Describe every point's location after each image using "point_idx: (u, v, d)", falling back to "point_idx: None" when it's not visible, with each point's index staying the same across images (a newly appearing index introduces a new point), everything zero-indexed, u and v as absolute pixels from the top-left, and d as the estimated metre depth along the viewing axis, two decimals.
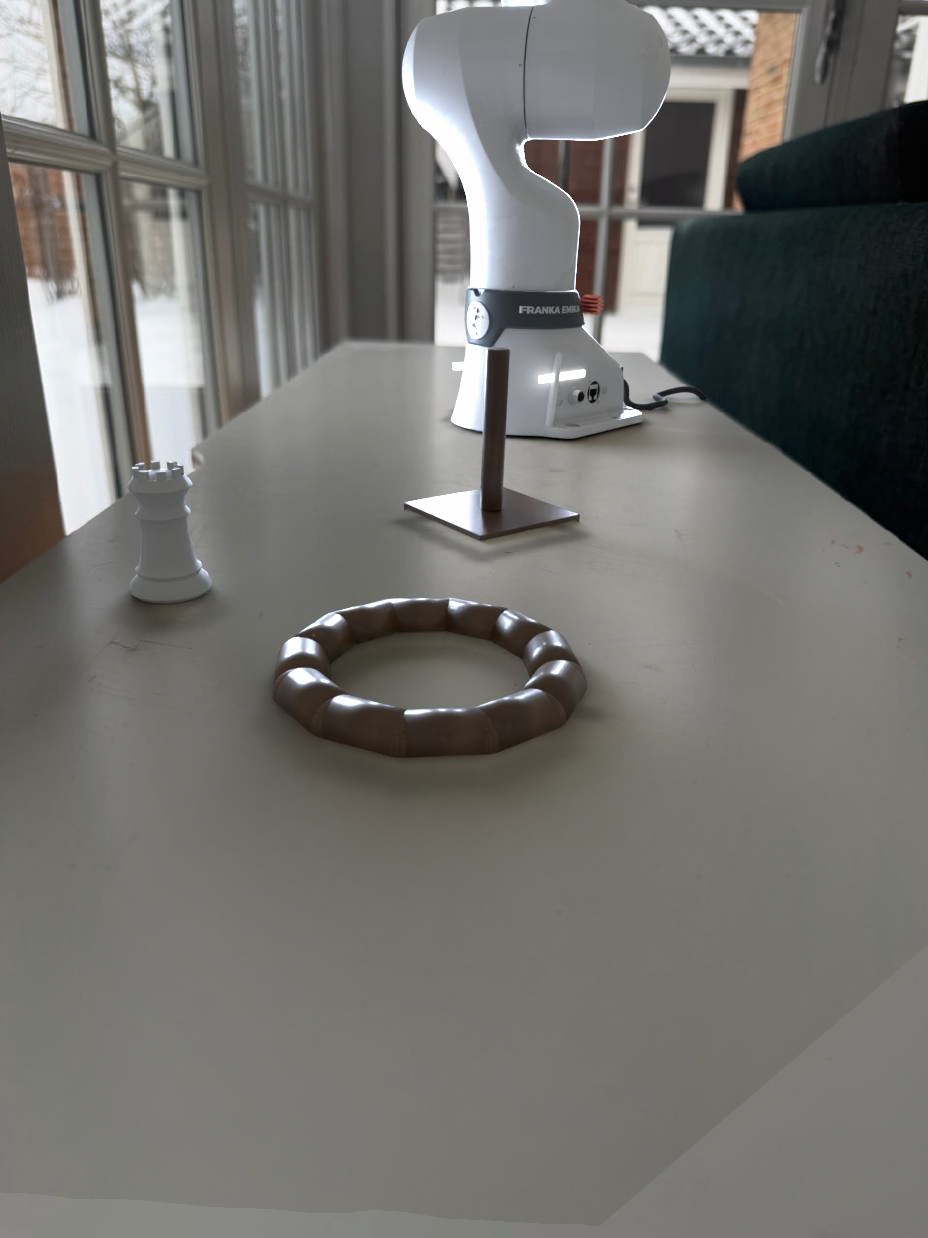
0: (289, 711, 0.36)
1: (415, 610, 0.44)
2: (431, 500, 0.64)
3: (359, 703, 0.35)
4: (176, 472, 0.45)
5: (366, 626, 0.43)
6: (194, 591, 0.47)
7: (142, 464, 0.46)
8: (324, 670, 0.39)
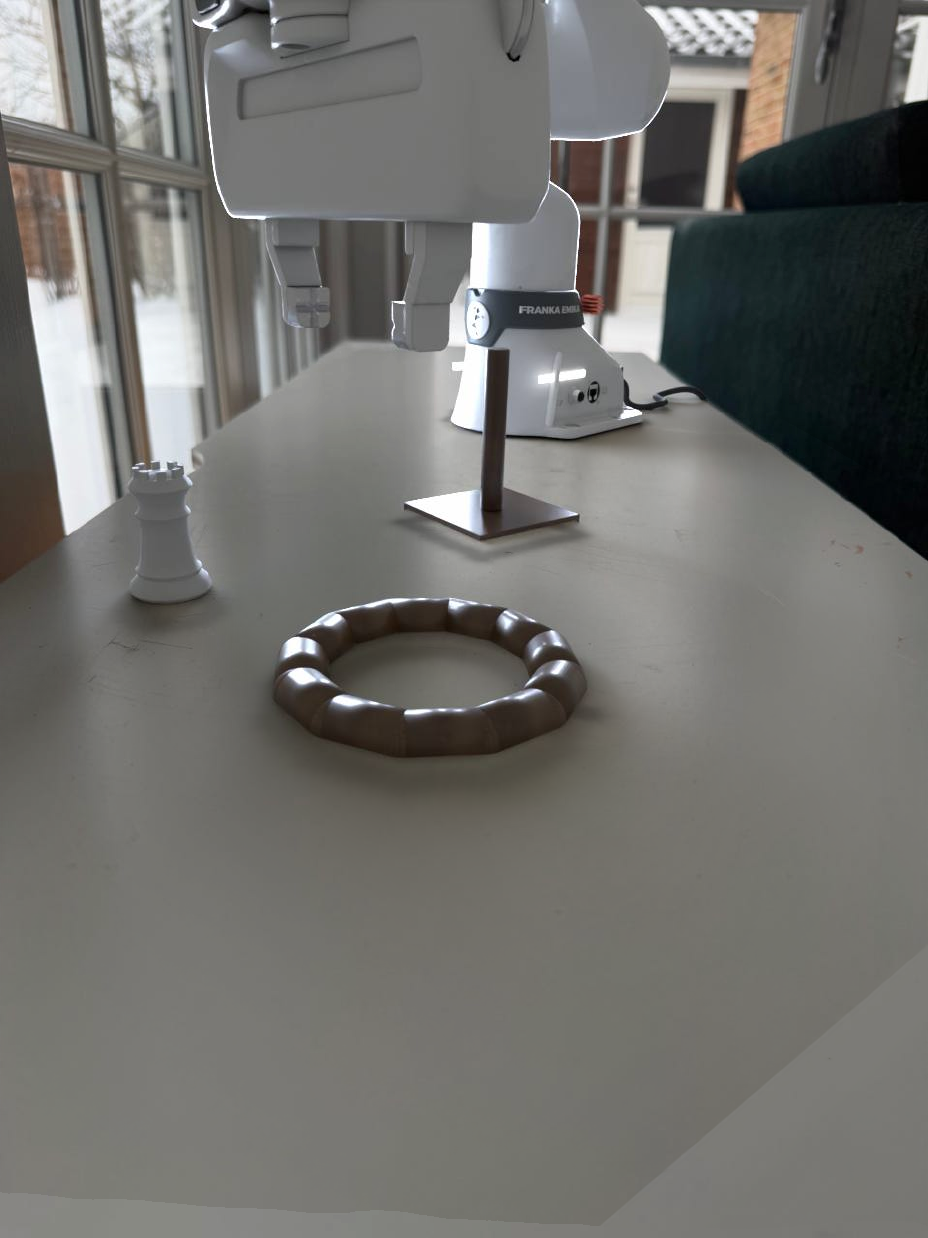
0: (289, 711, 0.36)
1: (415, 610, 0.44)
2: (431, 500, 0.64)
3: (359, 703, 0.35)
4: (176, 472, 0.45)
5: (366, 626, 0.43)
6: (194, 591, 0.47)
7: (142, 464, 0.46)
8: (324, 670, 0.39)
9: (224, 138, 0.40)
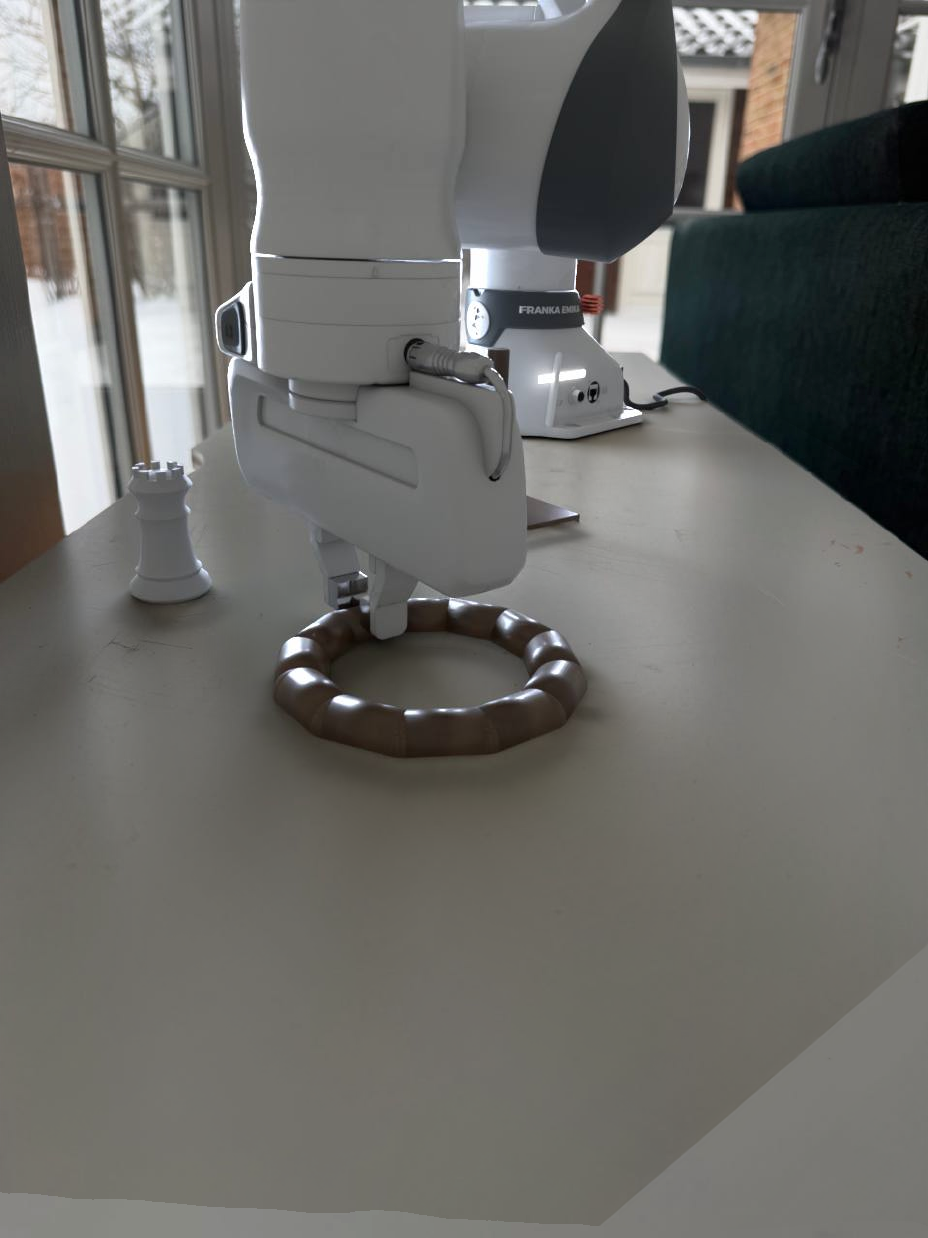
0: (289, 711, 0.36)
1: (415, 610, 0.44)
2: None
3: (359, 703, 0.35)
4: (176, 472, 0.45)
5: None
6: (194, 591, 0.47)
7: (142, 464, 0.46)
8: (324, 670, 0.39)
9: (246, 432, 0.46)
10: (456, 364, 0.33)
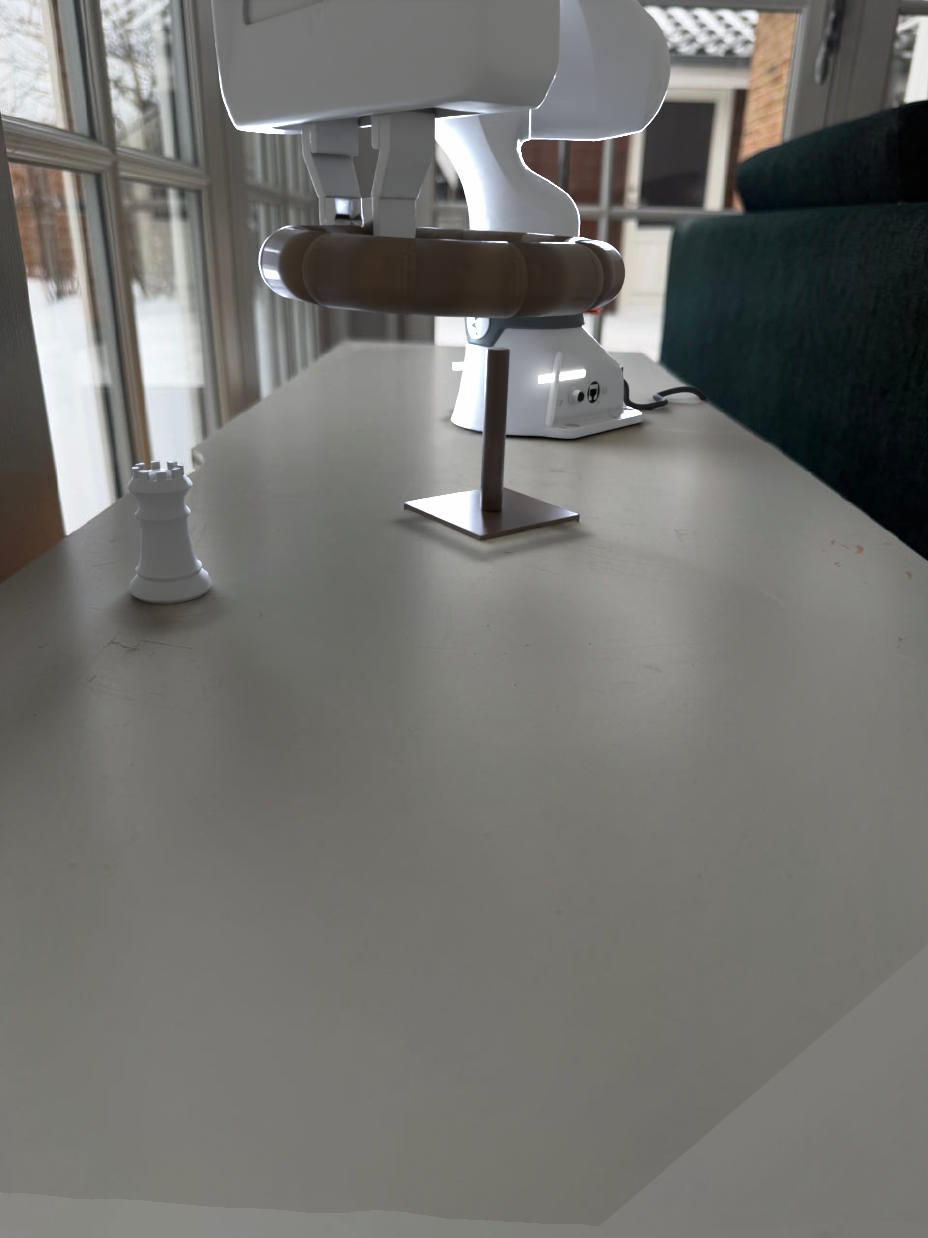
0: (278, 264, 0.31)
1: (424, 234, 0.39)
2: (431, 500, 0.64)
3: (360, 234, 0.29)
4: (176, 472, 0.45)
5: None
6: (194, 591, 0.47)
7: (142, 464, 0.46)
8: None
9: (230, 45, 0.40)
10: None
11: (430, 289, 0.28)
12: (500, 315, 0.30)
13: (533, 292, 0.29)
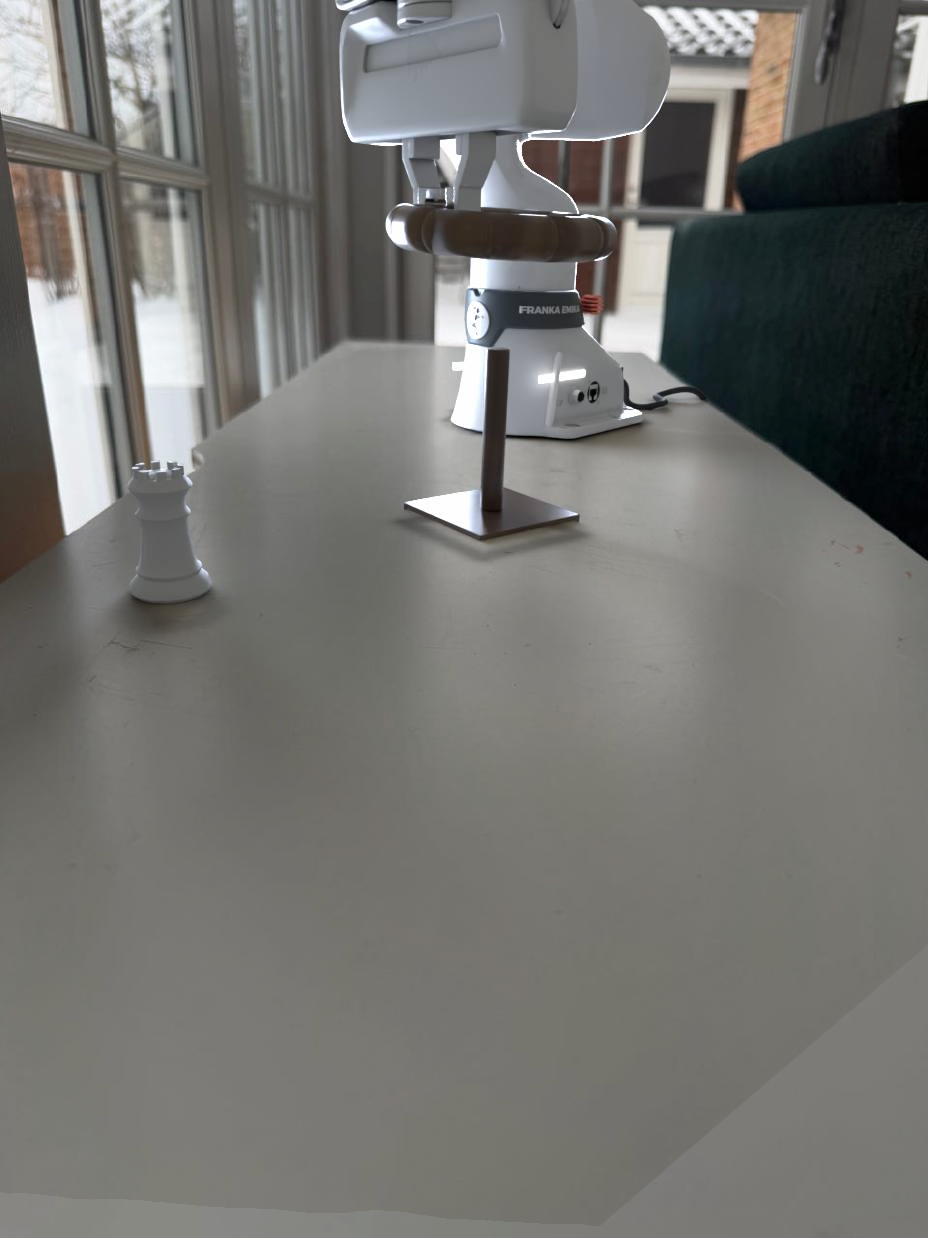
0: (404, 227, 0.50)
1: (484, 211, 0.58)
2: (431, 500, 0.64)
3: None
4: (176, 472, 0.45)
5: None
6: (194, 591, 0.47)
7: (142, 464, 0.46)
8: None
9: (352, 85, 0.59)
10: None
11: (500, 242, 0.48)
12: (541, 260, 0.49)
13: (561, 246, 0.49)
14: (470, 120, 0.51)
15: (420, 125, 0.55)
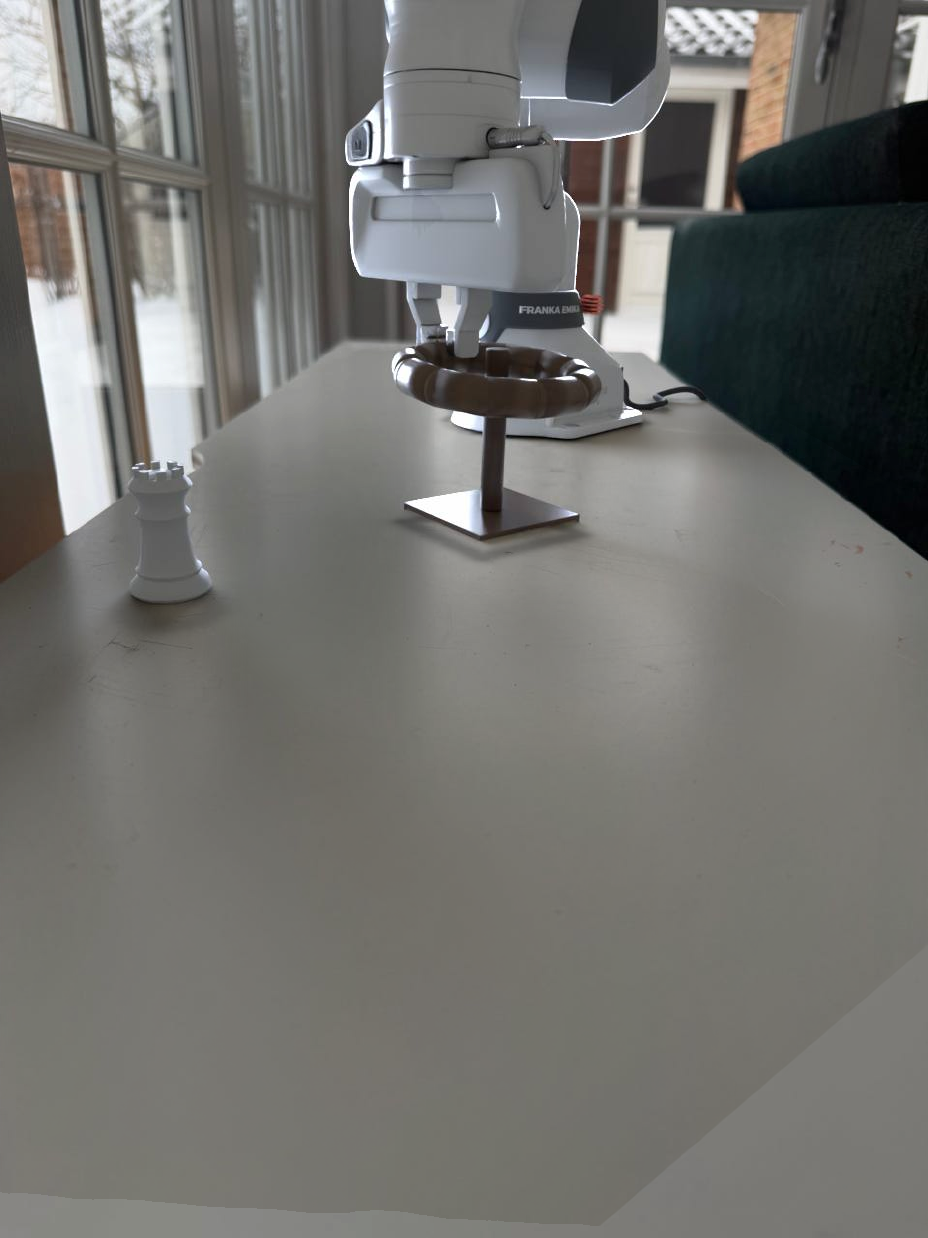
0: (408, 381, 0.55)
1: (482, 347, 0.63)
2: (431, 500, 0.64)
3: (457, 371, 0.54)
4: (176, 472, 0.45)
5: None
6: (194, 591, 0.47)
7: (142, 464, 0.46)
8: None
9: (361, 229, 0.65)
10: (523, 133, 0.52)
11: (495, 406, 0.53)
12: (531, 418, 0.54)
13: (549, 408, 0.54)
14: (469, 279, 0.56)
15: (423, 275, 0.60)
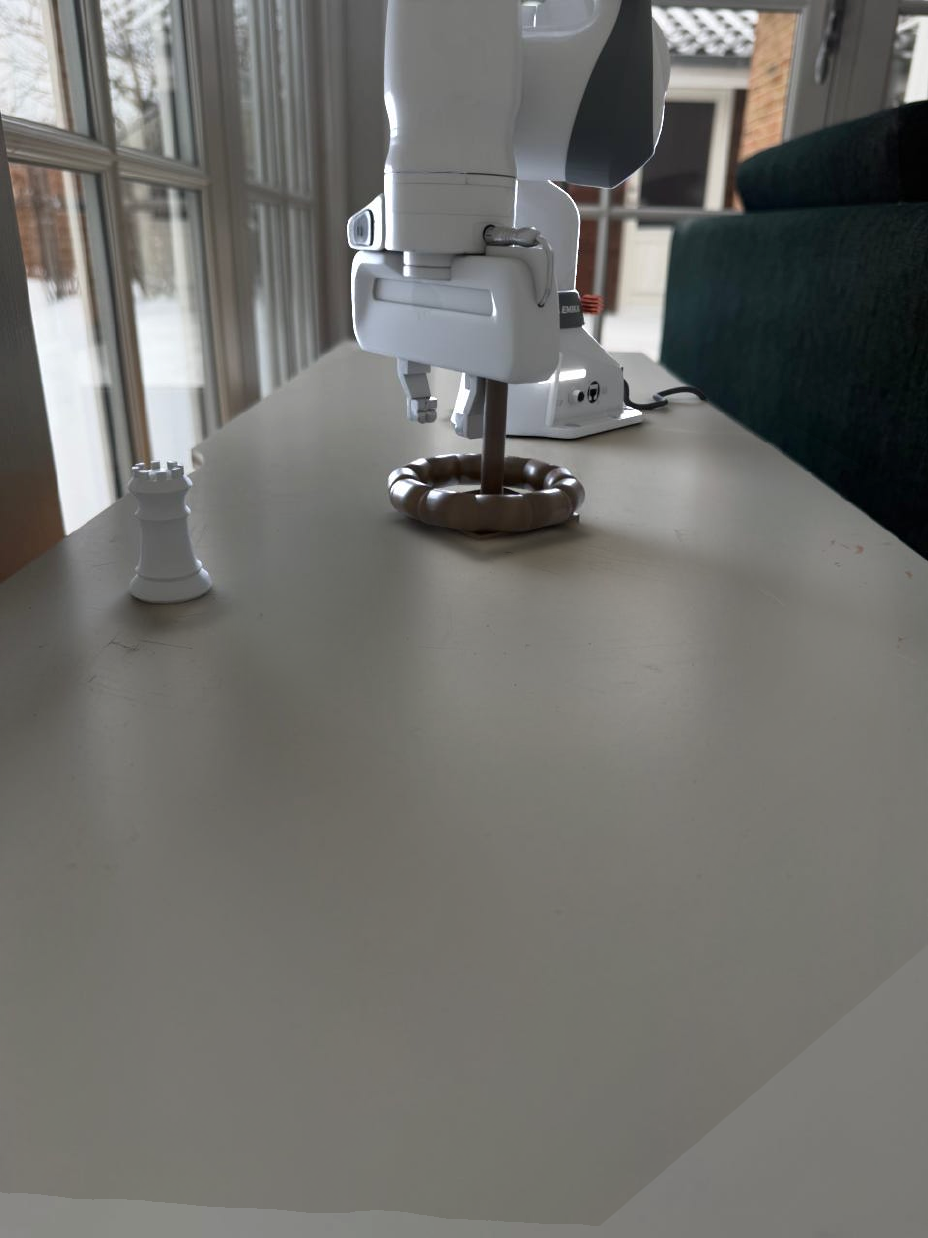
0: (402, 501, 0.59)
1: (472, 459, 0.67)
2: None
3: (447, 491, 0.58)
4: (176, 472, 0.45)
5: (441, 467, 0.66)
6: (194, 591, 0.47)
7: (142, 464, 0.46)
8: None
9: (362, 306, 0.67)
10: (518, 235, 0.54)
11: (484, 522, 0.57)
12: (519, 530, 0.58)
13: (535, 520, 0.58)
14: (467, 367, 0.59)
15: (423, 357, 0.63)
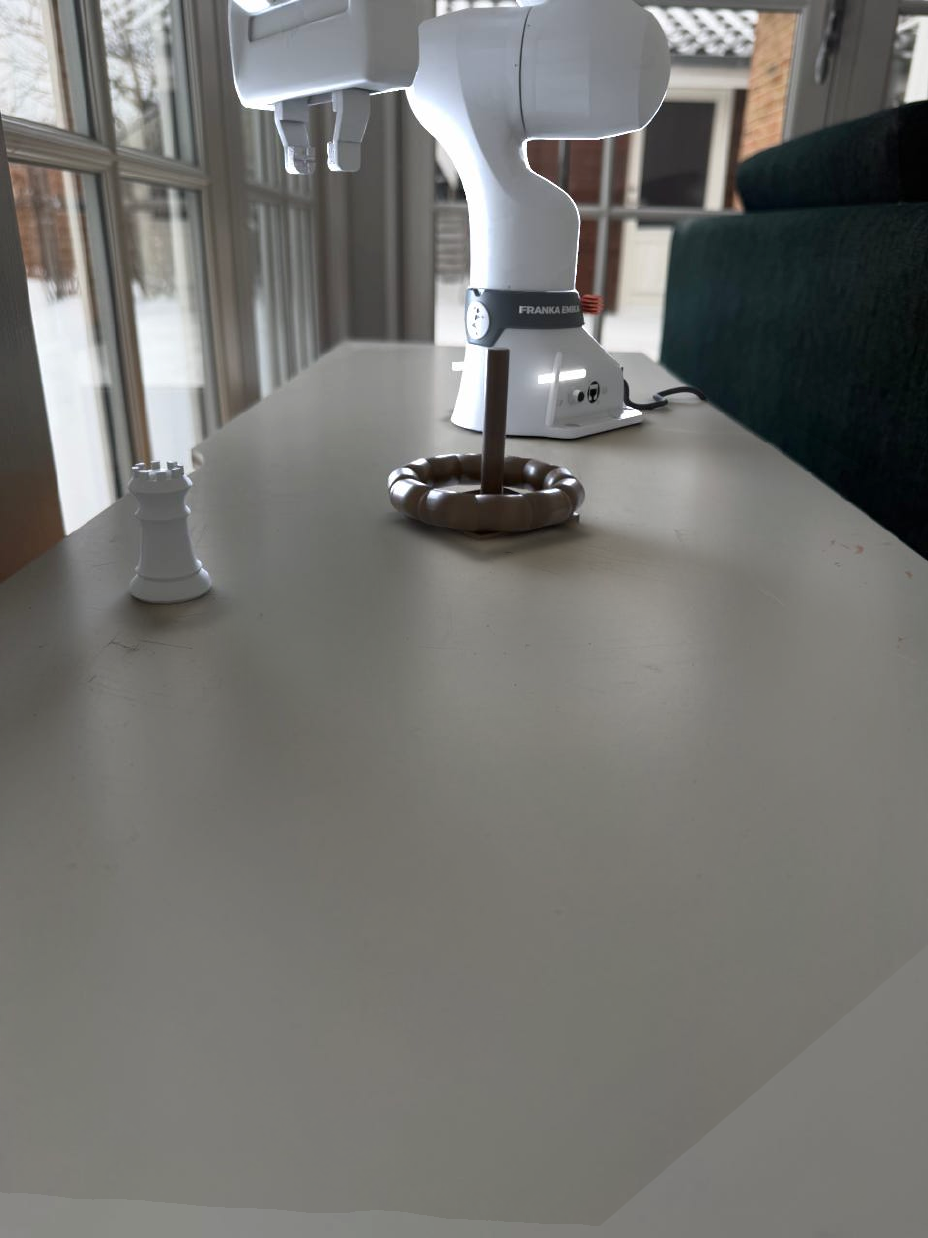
0: (402, 501, 0.59)
1: (472, 459, 0.67)
2: None
3: (447, 491, 0.58)
4: (176, 472, 0.45)
5: (441, 467, 0.66)
6: (194, 591, 0.47)
7: (142, 464, 0.46)
8: None
9: (240, 54, 0.65)
10: None
11: (484, 522, 0.57)
12: (519, 530, 0.58)
13: (535, 520, 0.58)
14: (329, 79, 0.57)
15: (293, 87, 0.61)
